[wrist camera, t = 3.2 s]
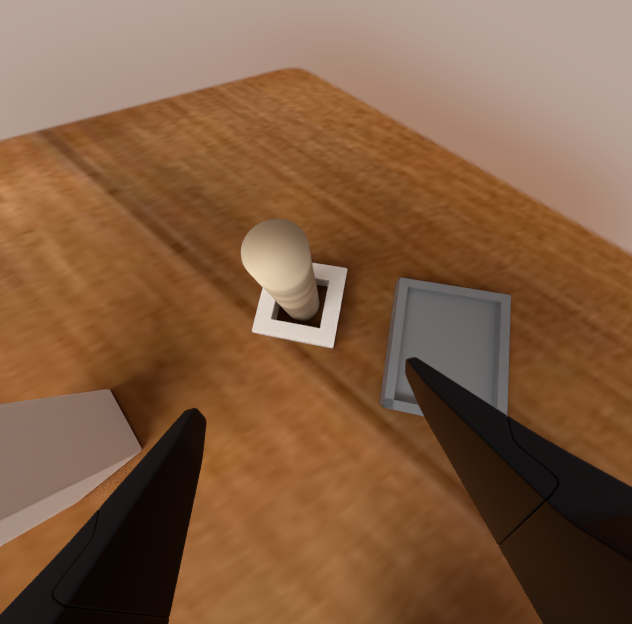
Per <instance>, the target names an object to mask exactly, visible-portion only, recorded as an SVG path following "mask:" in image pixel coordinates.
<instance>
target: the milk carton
mask: <svg viewBox="0 0 632 624" xmlns="http://www.w3.org/2000/svg"><path fill="white" fill-rule="evenodd" d="M141 450H142V449H141V446H140V444H139V443H138V441H137V439H136V437H135V435H134V433H133V431H132V430H131V428H130V426H129V424H128V422H127V420H126V419H125V417H124V415H123V413H122V411H121V409H120V407H119V406H118V404H117V402H116V400H115V398H114V396H113V395H112V393H111V391H110V390H109V389H105V390H97V391H90V392H83V393H76V394H69V395H62V396H55V397H48V398H41V399H34V400H26V401H19V402H12V403H5V404H0V546H2V545H3V544H5V543H7V542H9V541H10V540H12V539H14V538H16V537H17V536H19V535H21V534H23V533H24V532H26V531H28V530H30V529H31V528H33V527H35V526H37V525H38V524H40V523H42V522H44V521H45V520H47V519H49V518H51V517H52V516H54V515H56V514H58V513H59V512H61V511H63V510H65V509H66V508H68V507H70V506H72V505H73V504H75V503H77V502H78V501H79V500H81V499H82V498H83V497H84V496H86V495H87V494H88V493H89V492H91V491H92V490H93V489H94V488H96V487H97V486H98V485H99V484H101V483H102V482H103V481H104V480H106V479H107V478H108V477H109V476H111V475H112V474H113V473H114V472H116V471H117V470H118V469H119V468H121V467H122V466H123V465H124V464H126V463H127V462H128V461H129V460H131V459H132V458H133V457H134V456H136V455H137V454H138V453H139V452H141Z"/></svg>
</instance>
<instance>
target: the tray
mask: <svg viewBox="0 0 632 624" xmlns="http://www.w3.org/2000/svg"><path fill="white" fill-rule="evenodd" d="M510 313H511V295H508V294H501V293H495V292H489V291H482V290H476V289H470V288H464V287H457V286H451V285H445V284H439V283H432V282H426V281H420V280H414V279H407V278H401V277H400V278H399V280H398V281H397V282H396V286H395V293H394V301H393V308H392V315H391V323H390V330H389V338H388V345H387V353H386V360H385V367H384V375H383V382H382V390H381V397H380V405H381V406H382V407H384V408H388V409H393V410H398V411H402V412H407V413H411V414H416V415H421V416H424V415H423V413H422V411H421V409H420V407H419V405H418V403H417V400H416V398H415V396H414V394H413V391H412V389H411V387H410V384H409V382H408V380H407V378H406V375H405V360H406V359H407V358H411V357H417V358H419V359H420V360H422V361H423V362H425V363H426V364H428V365H429V366H431V367H433V368H434V369H436V370H437V371H439V372H440V373H442V374H444V375H445V376H447V377H448V378H450V379H451V380H453V381H454V382H456V383H458V384H459V385H461V386H462V387H464V388H465V389H467V390H468V391H470V392H472V393H473V394H475V395H476V396H478V397H479V398H481V399H483V400H484V401H486V402H487V403H489V404H490V405H492V406H493V407H495V408H497V409H498V410H500V411H501V412H503V413H504V414H506V415H507V407H508V375H509V344H510Z"/></svg>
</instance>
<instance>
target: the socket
mask: <svg viewBox="0 0 632 624" xmlns="http://www.w3.org/2000/svg"><path fill="white" fill-rule="evenodd" d="M312 265H313V270H314V275H315V280H316V285H321V286H327V287H328V290H327V295H326V300H325V305H324V310H323V315H322V320H321V326H320V328H315V327H310V326H304V325H299V324H294V323H288V322H283V321H278V320H277V315H278V311H279V307H280V305H279V304H278V303H277V302H276V300H275V299H274V298H273V297H272V296H271V295H270V294H269V293H268V292H267V291H266V290H265V289H264V288H263V289H262V293H261V297H260V301H259V305H258V309H257V313H256V316H255V320H254V324H253V328H252V332H254V333H257V334H260V335H266V336H271V337H276V338H281V339H286V340H291V341H296V342H301V343H306V344H311V345H316V346H322V347H327V348H332V349H333V346H334V340H335V335H336V329H337V324H338V318H339V313H340V307H341V301H342V296H343V290H344V285H345V279H346V274H347V268H342V267H336V266H330V265H323V264H317V263H312Z"/></svg>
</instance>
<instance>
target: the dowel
mask: <svg viewBox="0 0 632 624" xmlns="http://www.w3.org/2000/svg"><path fill="white" fill-rule="evenodd" d="M241 258H242V262H243V265H244V266H245V268H246V270H247V271H248V272H249V273H250V274H251V275H252V276H253V277H254V278H255V279H256V281H257V282H258V283H259V284H260V285H261V286H262V287H263V288H264V289H265V290H266V291H267V292H268V293H269V294H270V295H271V296H272V297H273V298H274V299H275V300H276V302H277V303H278V304H279V305H280V306H281V307H282V308H283V309H284V310H285V311H286V312H287V313H288V314H289V315H290V316H291V317H292V318H293V319H295V320H297V321H307V320H310V319H312V318H313V317H314V316H315V315H316V314H317V313H318V311H319V307H320V302H319V296H318V291H317V286H316V280H315V275H314V270H313V265H312V259H311V254H310V249H309V243H308V239H307V237H306V235H305V233H304V232H303V230H302V229H301V228H300V227H299V226H298V225H296V224H295V223H293V222H291V221H288V220H284V219H270V220H266V221H263V222H261V223H259V224H257V225H256V226H255V227H253V228H252V229H251V230H250V231H249V232H248V234H247V235H246V237H245V239H244V241H243V243H242V247H241Z"/></svg>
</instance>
